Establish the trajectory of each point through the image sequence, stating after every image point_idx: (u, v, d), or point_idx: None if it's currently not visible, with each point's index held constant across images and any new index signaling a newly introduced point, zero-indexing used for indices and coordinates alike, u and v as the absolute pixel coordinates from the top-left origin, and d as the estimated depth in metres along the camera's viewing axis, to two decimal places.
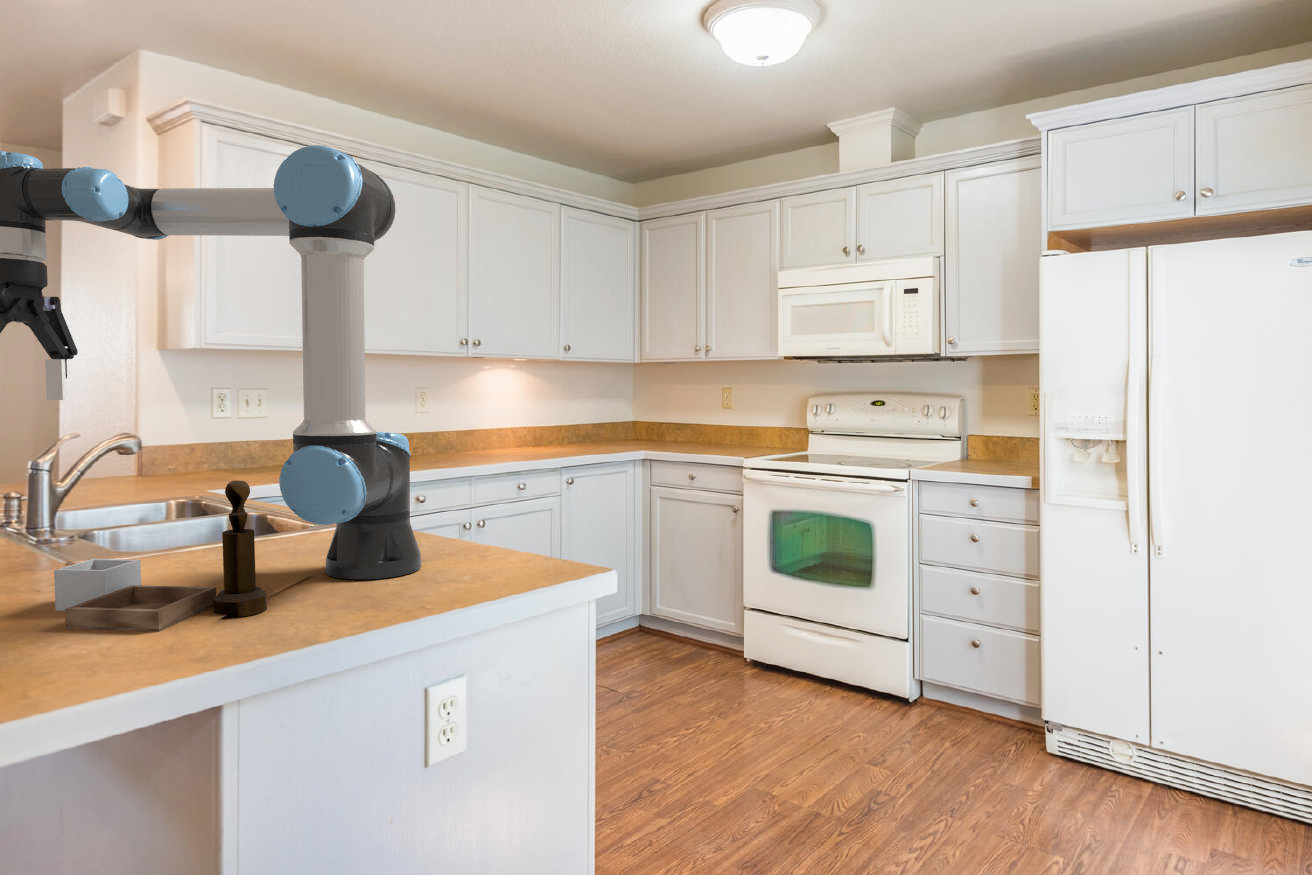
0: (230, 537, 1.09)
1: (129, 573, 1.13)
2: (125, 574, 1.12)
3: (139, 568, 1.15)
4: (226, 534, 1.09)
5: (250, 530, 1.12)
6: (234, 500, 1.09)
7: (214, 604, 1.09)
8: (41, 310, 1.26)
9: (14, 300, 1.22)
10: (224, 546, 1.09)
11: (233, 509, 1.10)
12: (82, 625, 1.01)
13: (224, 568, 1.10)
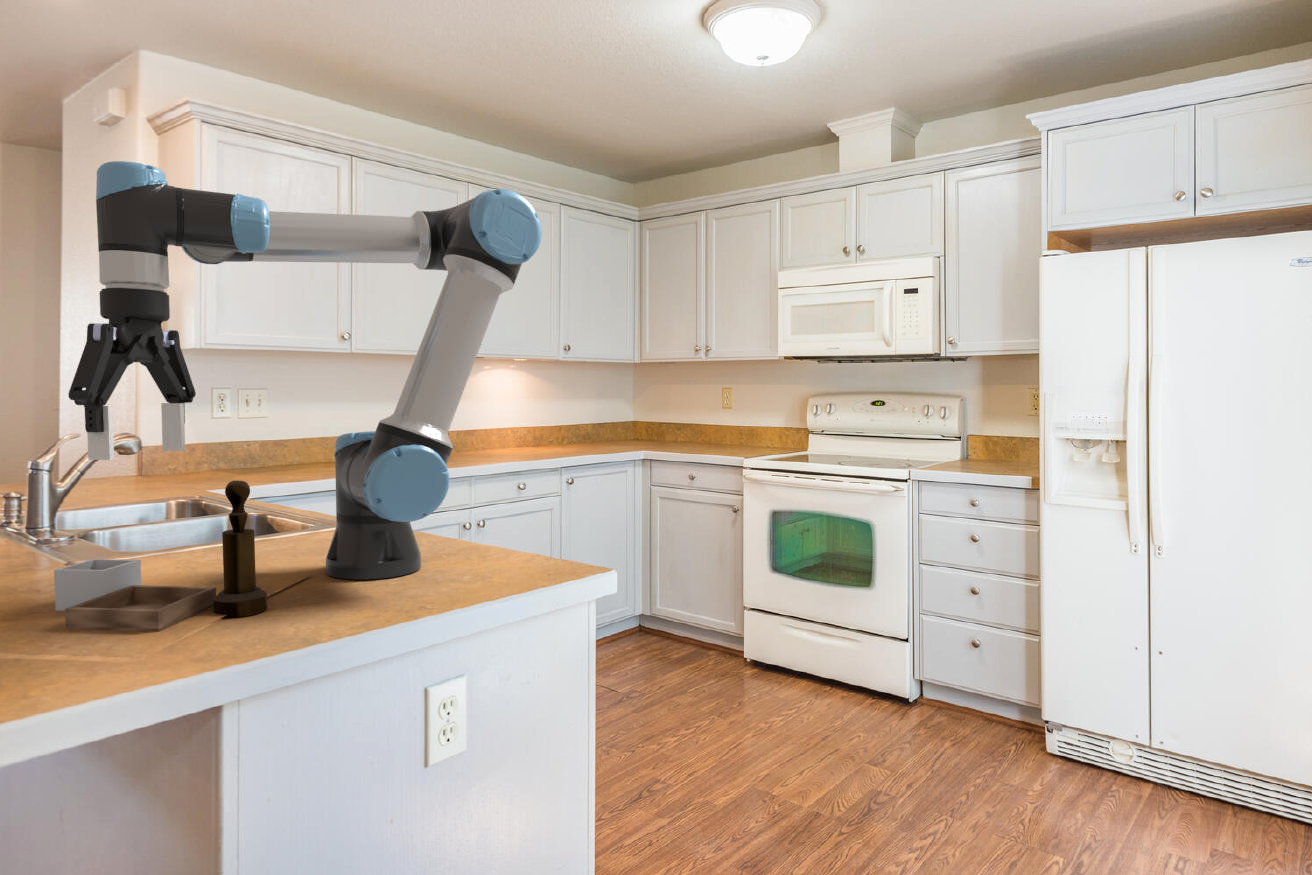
0: (230, 537, 1.09)
1: (129, 573, 1.13)
2: (125, 574, 1.12)
3: (139, 568, 1.15)
4: (226, 534, 1.09)
5: (250, 530, 1.12)
6: (234, 500, 1.09)
7: (214, 604, 1.09)
8: (161, 347, 1.07)
9: (134, 337, 1.03)
10: (224, 546, 1.09)
11: (233, 509, 1.10)
12: (82, 625, 1.01)
13: (224, 568, 1.10)
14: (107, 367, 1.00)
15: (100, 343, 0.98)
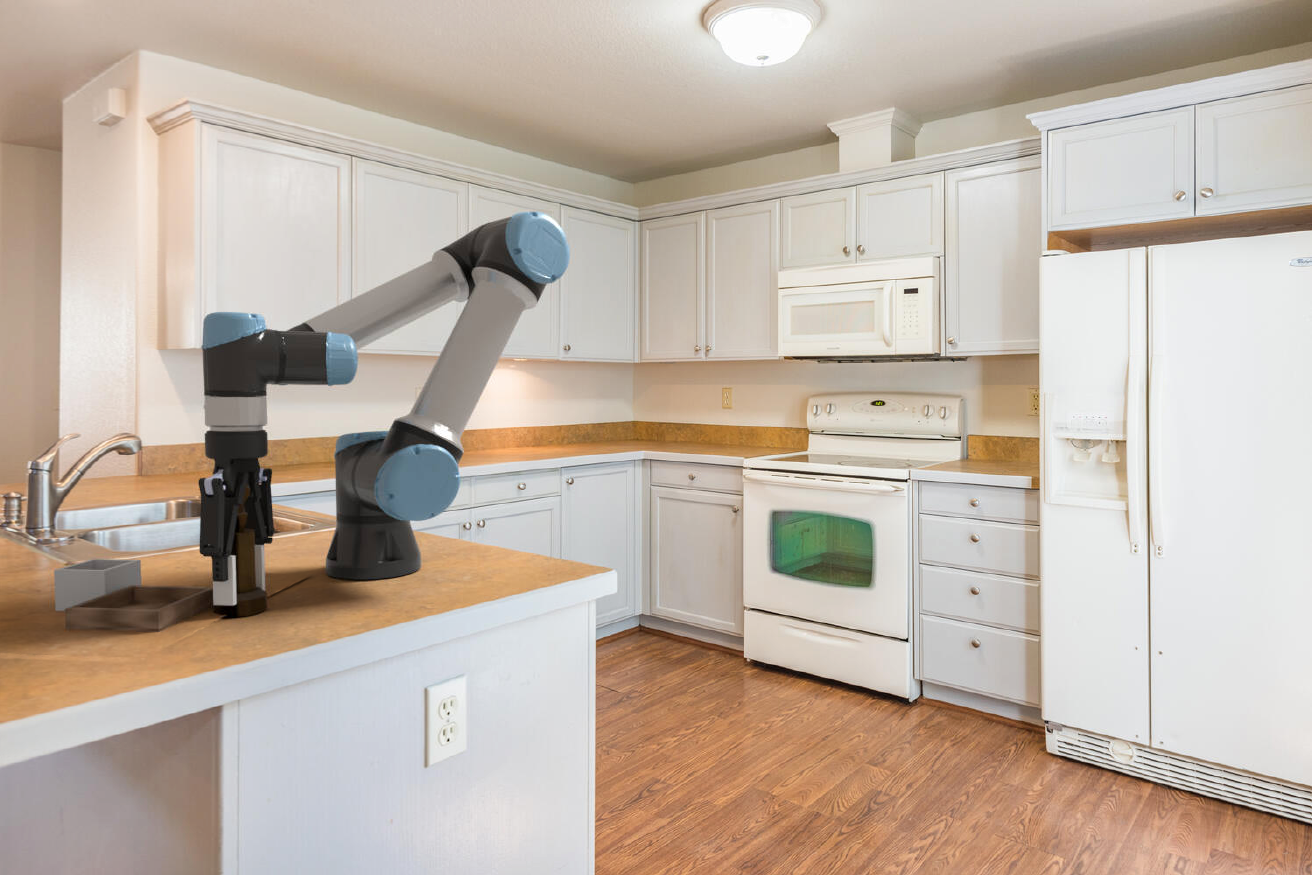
0: None
1: (129, 573, 1.13)
2: (125, 574, 1.12)
3: (139, 568, 1.15)
4: None
5: (250, 530, 1.12)
6: None
7: None
8: (258, 483, 1.12)
9: (238, 478, 1.08)
10: None
11: None
12: (82, 625, 1.01)
13: None
14: None
15: (214, 498, 1.04)
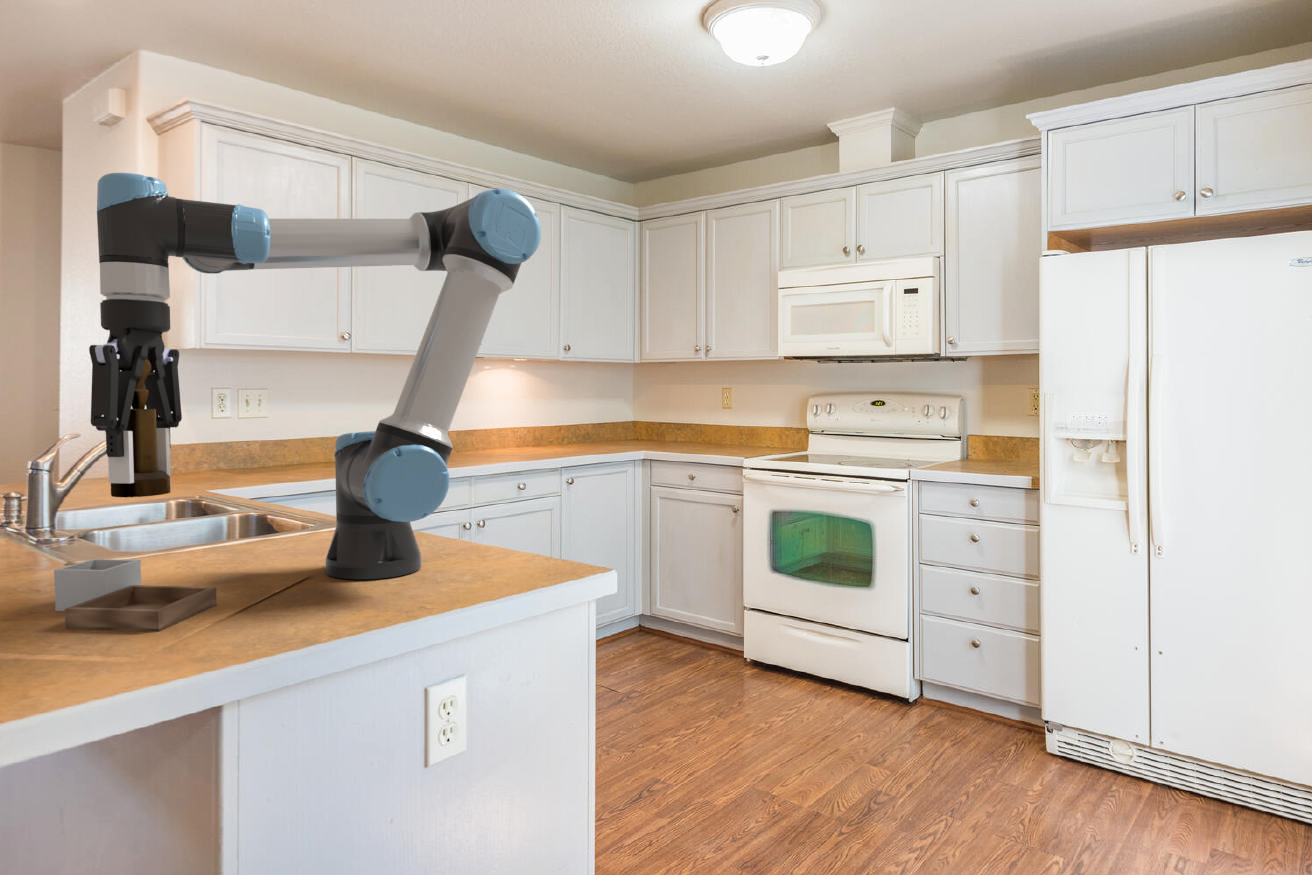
0: None
1: (129, 573, 1.13)
2: (125, 574, 1.12)
3: (139, 568, 1.15)
4: None
5: None
6: None
7: (111, 484, 1.04)
8: (160, 361, 1.07)
9: (135, 351, 1.03)
10: None
11: None
12: (82, 625, 1.01)
13: None
14: (117, 388, 1.02)
15: (106, 367, 0.99)
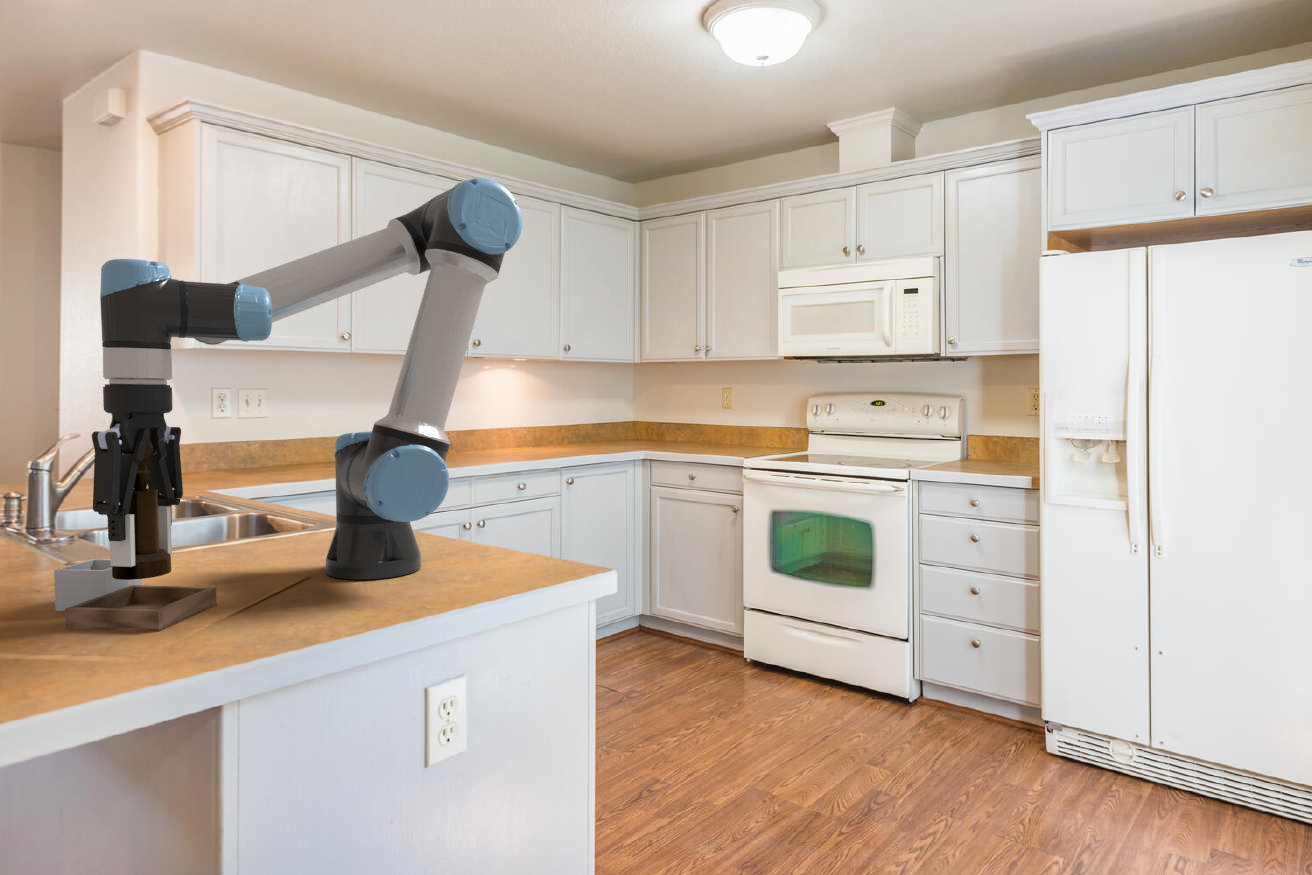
0: None
1: None
2: None
3: None
4: None
5: (154, 489, 1.07)
6: None
7: None
8: (162, 441, 1.07)
9: (137, 434, 1.03)
10: None
11: None
12: (82, 625, 1.01)
13: None
14: (120, 472, 1.02)
15: (109, 453, 0.99)
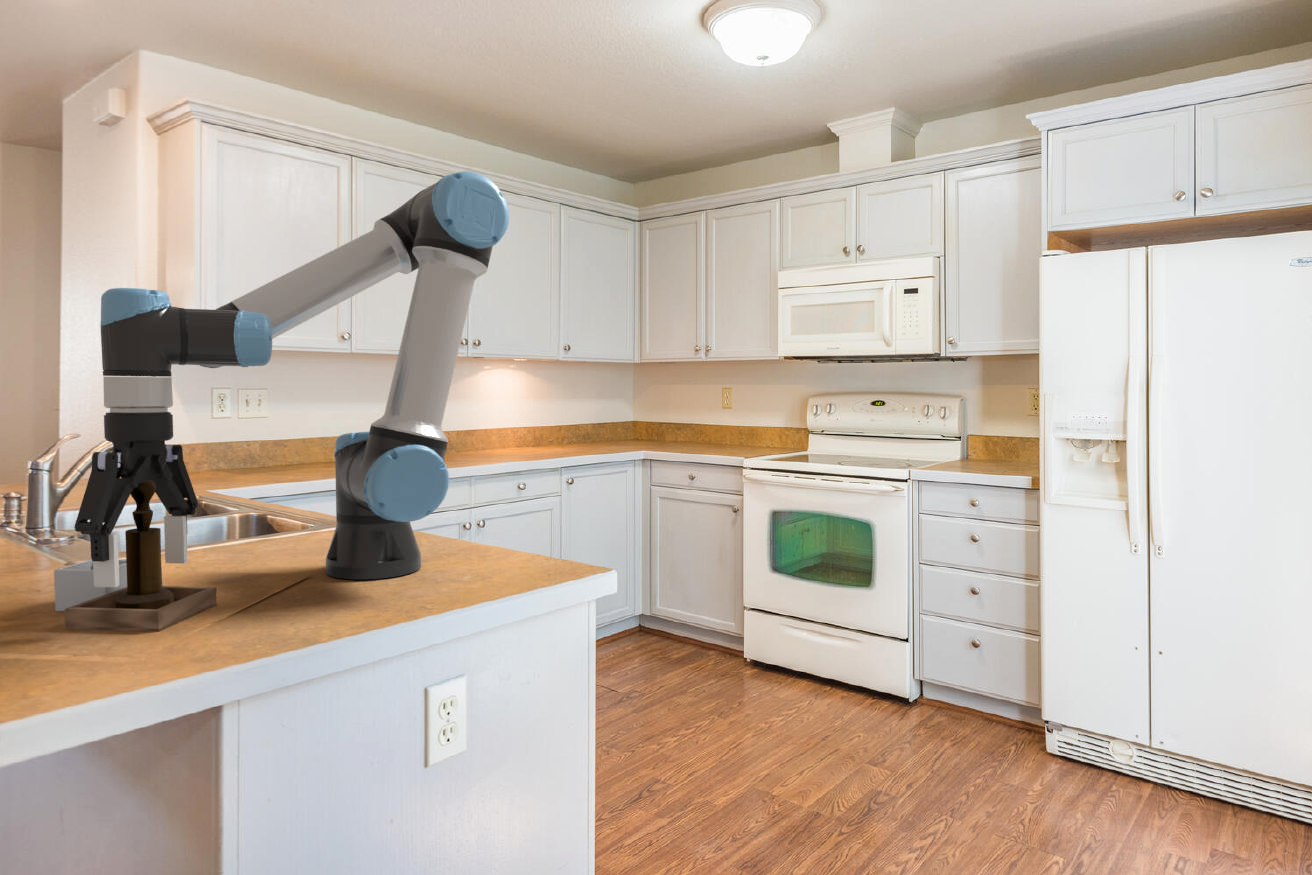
0: (133, 535, 1.05)
1: None
2: (125, 574, 1.12)
3: None
4: (129, 533, 1.05)
5: (157, 529, 1.08)
6: (138, 497, 1.05)
7: (115, 606, 1.05)
8: (165, 465, 1.08)
9: (138, 460, 1.04)
10: (127, 545, 1.05)
11: (137, 506, 1.06)
12: (82, 625, 1.01)
13: (127, 568, 1.05)
14: (112, 493, 1.01)
15: (105, 472, 0.99)
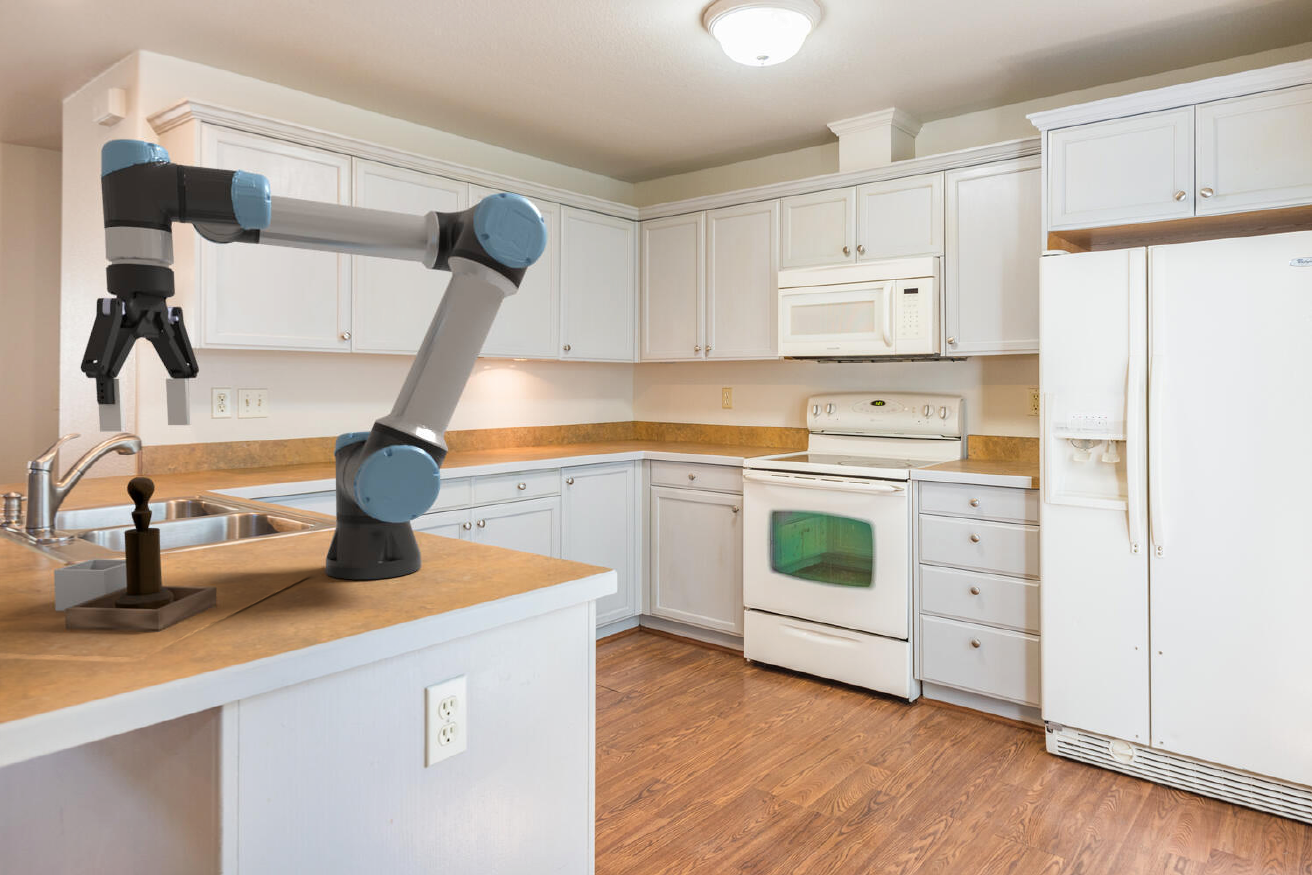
0: (132, 536, 1.04)
1: None
2: (125, 574, 1.12)
3: None
4: (128, 533, 1.05)
5: (156, 529, 1.08)
6: (136, 497, 1.05)
7: (115, 606, 1.05)
8: (167, 323, 1.09)
9: (142, 312, 1.05)
10: (126, 546, 1.05)
11: (136, 507, 1.06)
12: (82, 625, 1.01)
13: (126, 568, 1.05)
14: (116, 341, 1.02)
15: (110, 317, 1.00)
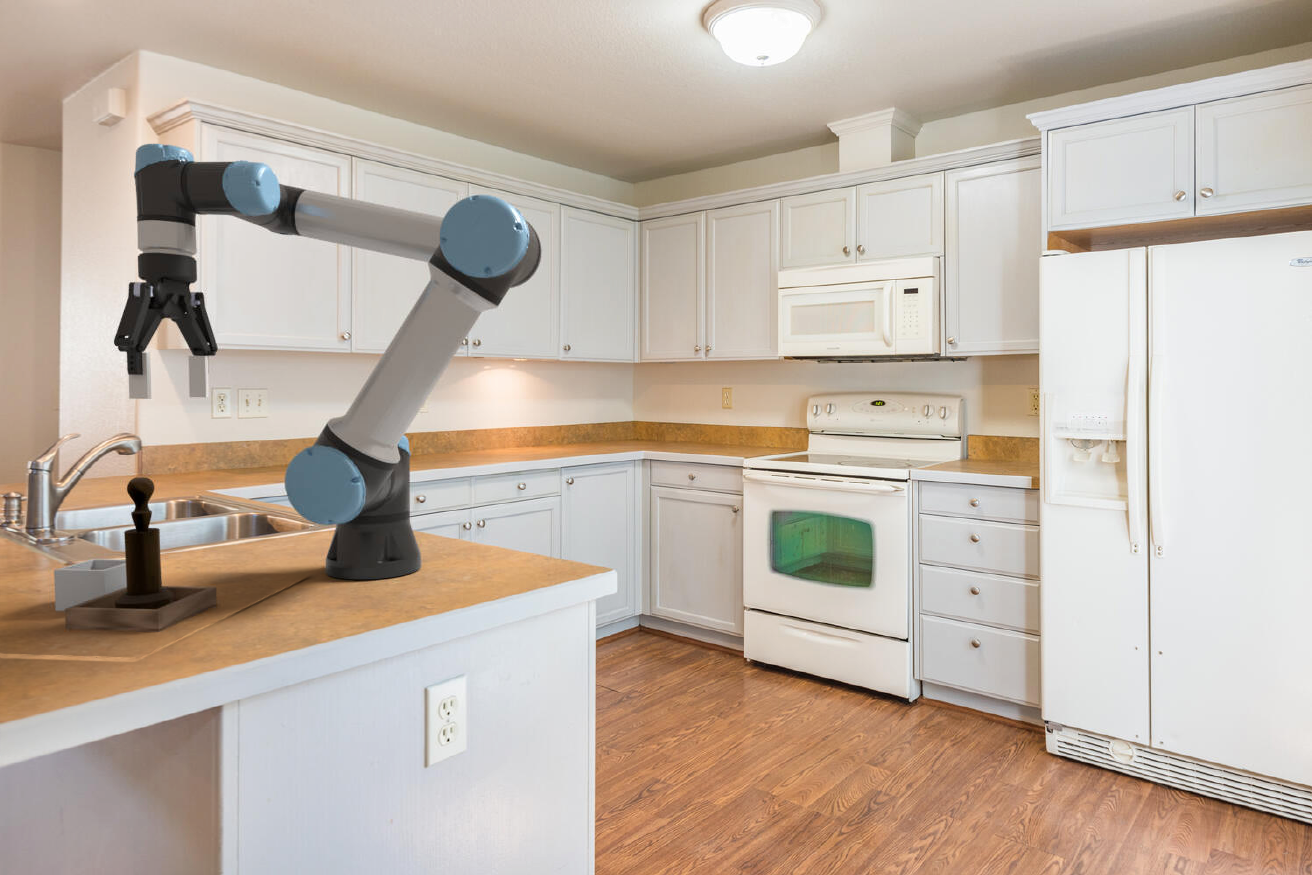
0: (132, 536, 1.04)
1: None
2: (125, 574, 1.12)
3: None
4: (128, 533, 1.05)
5: (156, 529, 1.08)
6: (136, 498, 1.05)
7: (115, 606, 1.05)
8: (190, 306, 1.24)
9: (167, 296, 1.20)
10: (126, 546, 1.05)
11: (136, 507, 1.06)
12: (82, 625, 1.01)
13: (126, 569, 1.05)
14: (145, 320, 1.17)
15: (140, 299, 1.15)
